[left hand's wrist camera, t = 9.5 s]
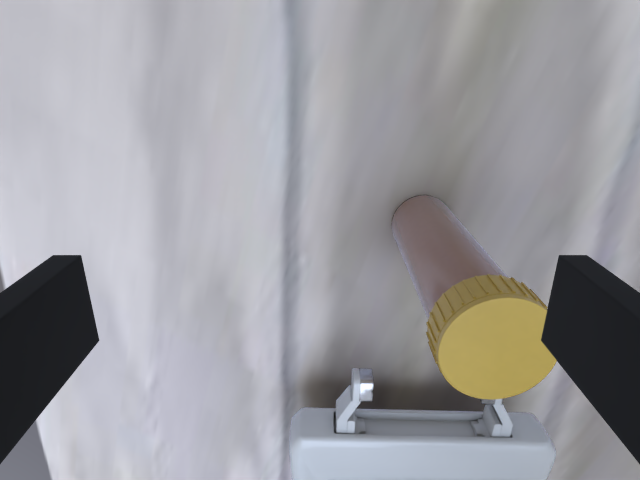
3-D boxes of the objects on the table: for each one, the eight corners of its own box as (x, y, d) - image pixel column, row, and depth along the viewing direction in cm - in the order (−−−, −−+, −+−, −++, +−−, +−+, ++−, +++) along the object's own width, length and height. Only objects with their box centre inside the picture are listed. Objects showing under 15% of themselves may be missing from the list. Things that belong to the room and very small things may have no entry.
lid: (449, 260, 20) (463, 282, 18) (560, 288, 21) (586, 313, 19) (410, 356, 22) (418, 387, 20) (511, 380, 23) (530, 412, 21)
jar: (402, 188, 34) (466, 288, 19) (460, 203, 34) (567, 313, 19) (383, 243, 36) (428, 375, 21) (439, 257, 36) (522, 396, 21)
